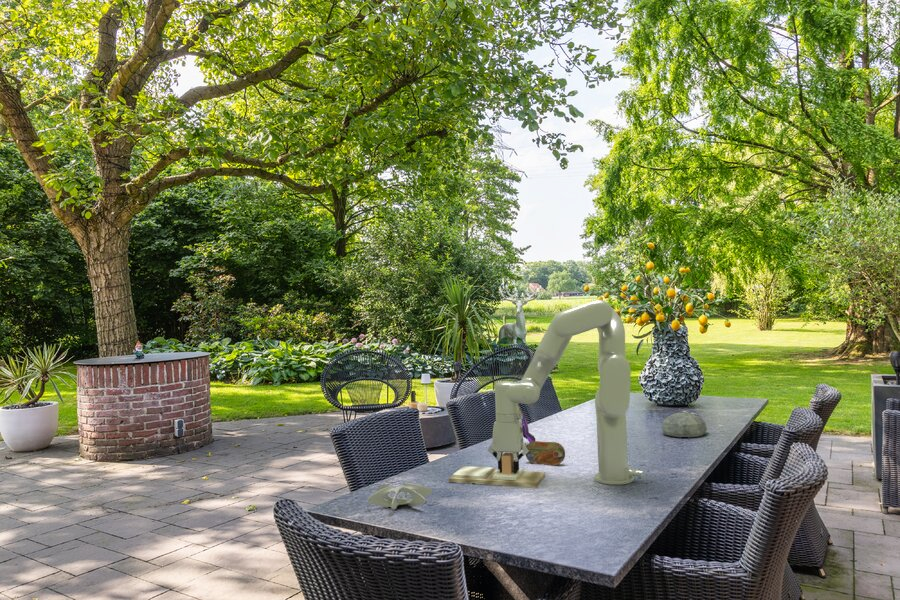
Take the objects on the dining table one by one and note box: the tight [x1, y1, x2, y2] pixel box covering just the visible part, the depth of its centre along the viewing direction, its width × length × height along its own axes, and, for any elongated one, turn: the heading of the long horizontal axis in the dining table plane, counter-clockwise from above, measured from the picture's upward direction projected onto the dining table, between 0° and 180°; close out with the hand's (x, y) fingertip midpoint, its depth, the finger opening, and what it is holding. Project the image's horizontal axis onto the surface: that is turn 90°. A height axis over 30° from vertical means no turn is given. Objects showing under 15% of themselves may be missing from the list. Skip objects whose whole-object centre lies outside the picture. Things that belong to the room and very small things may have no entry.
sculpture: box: [367, 481, 433, 510], centre depth 187 cm, size 18×20×6 cm
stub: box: [493, 452, 525, 480], centre depth 211 cm, size 8×12×7 cm, turn 161°
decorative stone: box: [661, 410, 708, 438], centre depth 276 cm, size 18×21×10 cm
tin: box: [524, 440, 566, 466], centre depth 232 cm, size 15×3×8 cm, turn 62°
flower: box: [520, 411, 536, 443], centre depth 263 cm, size 15×15×14 cm
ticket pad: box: [448, 465, 546, 489], centre depth 212 cm, size 30×14×3 cm, turn 71°
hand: (508, 471), depth 211 cm, fingers open, 4 cm apart
